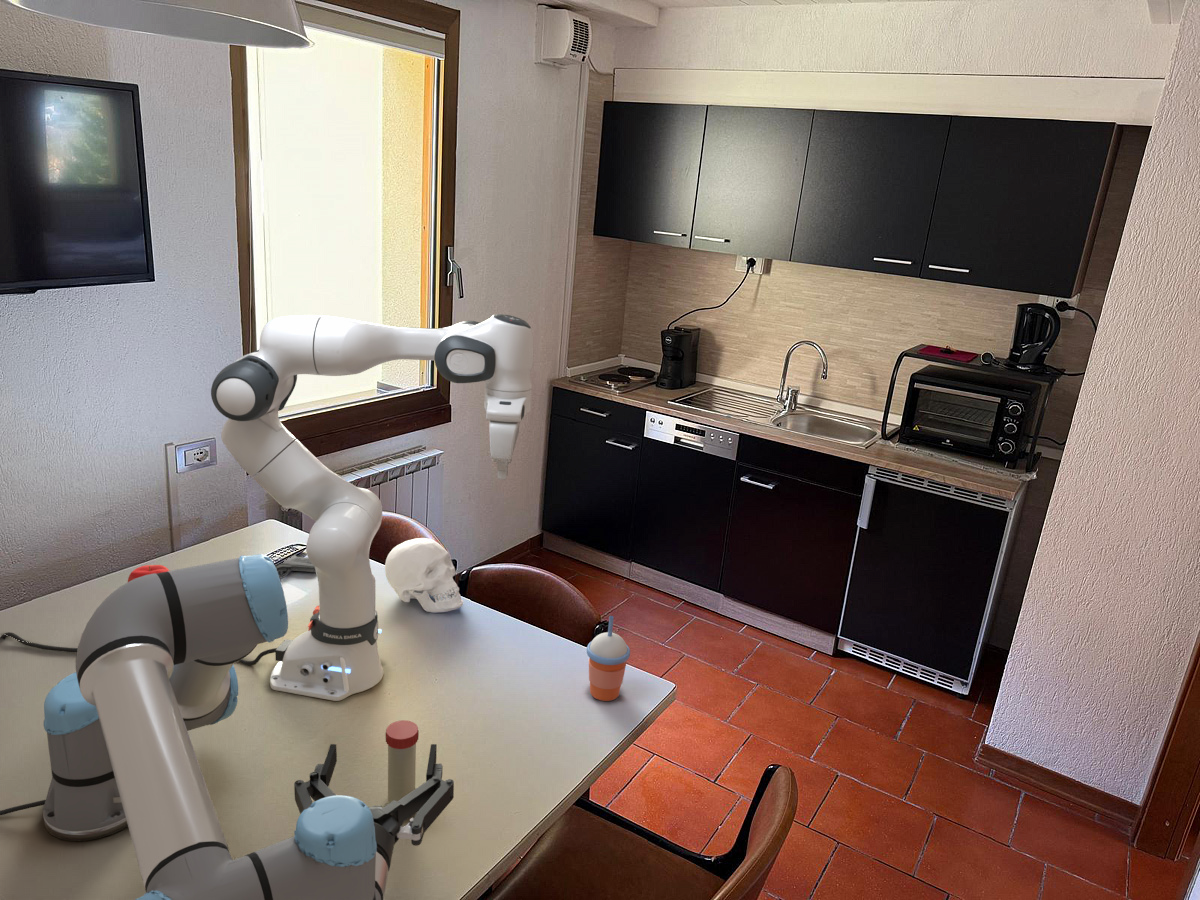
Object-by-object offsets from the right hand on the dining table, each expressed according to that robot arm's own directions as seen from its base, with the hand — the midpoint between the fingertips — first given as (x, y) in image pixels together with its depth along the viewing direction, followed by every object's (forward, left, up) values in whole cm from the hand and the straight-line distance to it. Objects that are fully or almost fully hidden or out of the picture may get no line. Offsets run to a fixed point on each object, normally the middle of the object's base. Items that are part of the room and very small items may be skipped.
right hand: (504, 470), depth 166 cm
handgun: (-58, +44, -48) cm, 87 cm away
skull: (-21, +35, -48) cm, 63 cm away
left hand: (-10, -57, -23) cm, 62 cm away
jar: (-12, -39, -48) cm, 63 cm away
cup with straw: (+23, -1, -48) cm, 53 cm away
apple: (-83, +24, -48) cm, 99 cm away
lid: (-12, -39, -33) cm, 52 cm away
